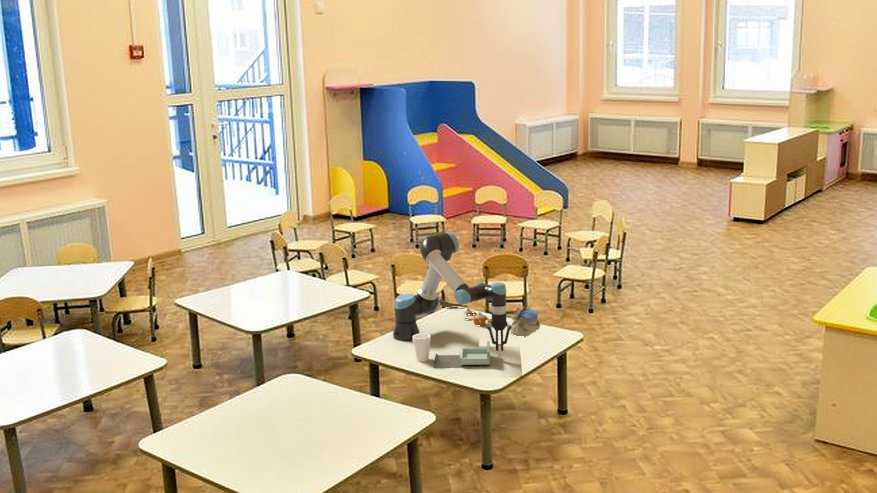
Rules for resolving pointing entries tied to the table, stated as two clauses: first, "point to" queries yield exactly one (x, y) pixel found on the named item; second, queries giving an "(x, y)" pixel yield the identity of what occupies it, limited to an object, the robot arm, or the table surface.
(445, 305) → the bird
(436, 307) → the robot arm
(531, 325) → the grey and blue lump
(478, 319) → the toy tea set
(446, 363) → the rail
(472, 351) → the shallow mint tray
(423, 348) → the foam cup
